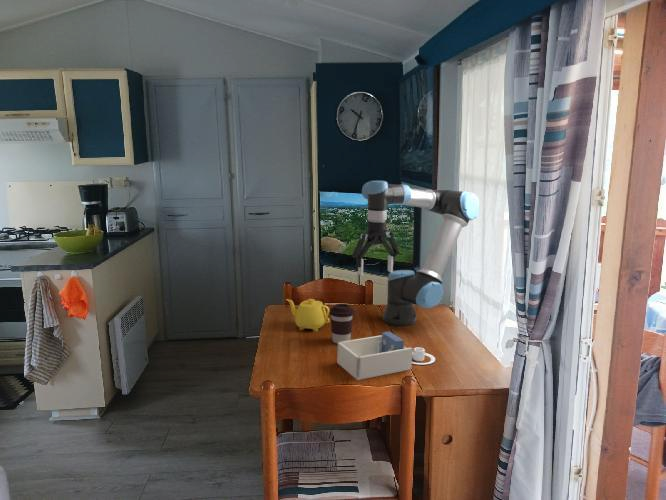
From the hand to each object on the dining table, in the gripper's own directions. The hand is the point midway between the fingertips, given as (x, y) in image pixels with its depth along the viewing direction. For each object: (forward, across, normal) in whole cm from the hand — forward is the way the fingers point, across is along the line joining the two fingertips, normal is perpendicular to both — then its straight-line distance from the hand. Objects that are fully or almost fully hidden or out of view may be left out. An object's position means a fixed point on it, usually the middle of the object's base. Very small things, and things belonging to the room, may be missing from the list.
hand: (375, 273), depth 218 cm
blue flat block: (+27, +5, +22) cm, 35 cm away
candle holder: (+29, -6, +23) cm, 38 cm away
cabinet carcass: (+28, +12, +22) cm, 38 cm away
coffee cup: (+29, +12, -5) cm, 32 cm away
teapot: (+29, +18, -26) cm, 43 cm away
